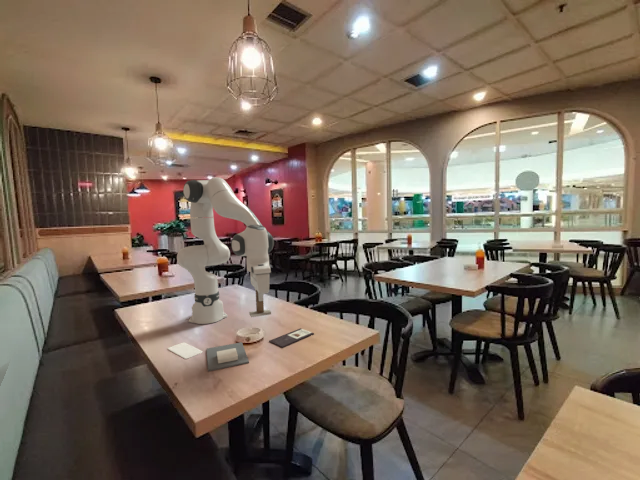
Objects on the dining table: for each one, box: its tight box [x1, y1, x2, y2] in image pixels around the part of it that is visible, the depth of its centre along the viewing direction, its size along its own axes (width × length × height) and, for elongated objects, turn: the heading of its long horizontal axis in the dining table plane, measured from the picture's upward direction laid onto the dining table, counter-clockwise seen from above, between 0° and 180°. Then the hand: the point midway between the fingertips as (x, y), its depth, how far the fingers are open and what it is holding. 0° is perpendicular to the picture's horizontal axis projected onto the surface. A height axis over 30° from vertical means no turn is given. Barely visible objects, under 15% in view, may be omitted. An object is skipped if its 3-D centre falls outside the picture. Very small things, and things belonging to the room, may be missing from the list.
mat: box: [206, 341, 250, 372], centre depth 116 cm, size 18×14×1 cm
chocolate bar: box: [268, 327, 315, 349], centre depth 131 cm, size 9×1×18 cm
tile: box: [217, 348, 238, 364], centre depth 113 cm, size 2×7×7 cm
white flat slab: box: [167, 341, 203, 360], centre depth 121 cm, size 7×1×15 cm
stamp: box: [248, 290, 272, 318], centre depth 122 cm, size 4×8×10 cm, turn 112°
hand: (259, 299), depth 121 cm, fingers closed on stamp, 2 cm apart
